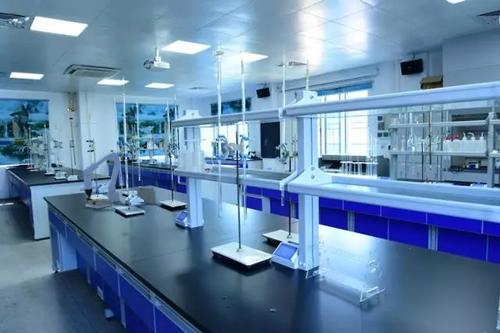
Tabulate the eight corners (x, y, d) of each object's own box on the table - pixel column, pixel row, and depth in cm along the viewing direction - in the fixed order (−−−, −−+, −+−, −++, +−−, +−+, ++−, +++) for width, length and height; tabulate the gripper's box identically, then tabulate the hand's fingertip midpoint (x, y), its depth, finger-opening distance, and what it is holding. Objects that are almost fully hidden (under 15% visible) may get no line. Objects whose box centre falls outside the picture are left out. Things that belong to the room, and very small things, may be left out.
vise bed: (101, 203, 299) (100, 198, 298) (112, 205, 290) (112, 199, 290) (85, 206, 287) (85, 201, 286) (97, 208, 278) (96, 202, 278)
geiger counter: (156, 187, 293) (136, 185, 306) (150, 188, 288) (130, 186, 301) (157, 203, 294) (137, 200, 308) (151, 204, 289) (131, 202, 302)
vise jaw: (99, 201, 298) (98, 198, 298) (105, 202, 293) (105, 199, 293) (86, 204, 288) (85, 200, 288) (92, 205, 283) (92, 201, 283)
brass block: (101, 203, 290) (100, 197, 290) (104, 204, 287) (104, 198, 287) (97, 204, 287) (96, 198, 286) (100, 205, 284) (100, 199, 284)
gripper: (82, 183, 288) (83, 199, 290) (98, 181, 300) (99, 196, 301) (77, 183, 292) (79, 199, 294) (93, 180, 304) (95, 196, 305)
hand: (89, 197), depth 298 cm, fingers closed
